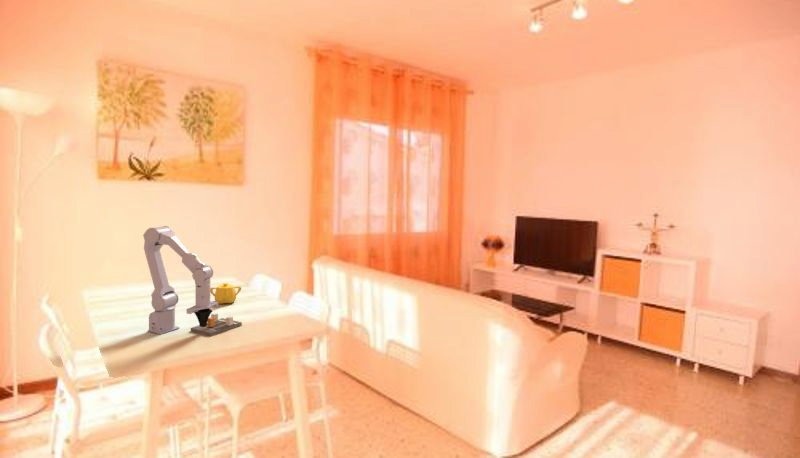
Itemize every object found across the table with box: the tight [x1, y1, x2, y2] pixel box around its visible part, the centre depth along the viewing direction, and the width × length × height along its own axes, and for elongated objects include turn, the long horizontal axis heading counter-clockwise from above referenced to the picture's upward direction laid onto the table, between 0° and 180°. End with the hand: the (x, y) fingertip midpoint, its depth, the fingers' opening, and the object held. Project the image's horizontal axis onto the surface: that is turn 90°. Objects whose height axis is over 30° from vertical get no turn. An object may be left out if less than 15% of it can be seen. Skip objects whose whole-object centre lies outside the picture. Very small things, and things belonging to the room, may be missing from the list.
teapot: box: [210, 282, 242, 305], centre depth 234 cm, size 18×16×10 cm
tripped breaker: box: [207, 316, 215, 327], centre depth 190 cm, size 2×2×4 cm
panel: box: [190, 312, 243, 337], centre depth 193 cm, size 17×12×5 cm
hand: (203, 326), depth 186 cm, fingers closed
